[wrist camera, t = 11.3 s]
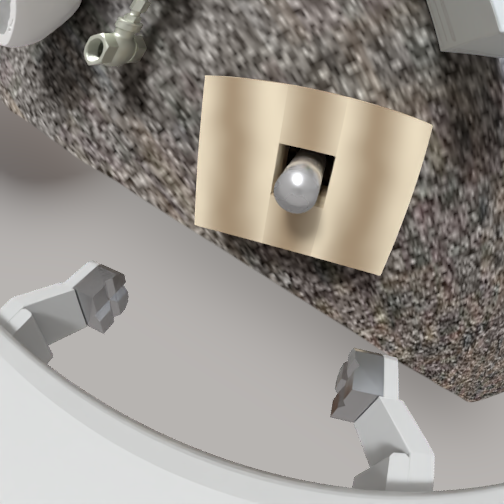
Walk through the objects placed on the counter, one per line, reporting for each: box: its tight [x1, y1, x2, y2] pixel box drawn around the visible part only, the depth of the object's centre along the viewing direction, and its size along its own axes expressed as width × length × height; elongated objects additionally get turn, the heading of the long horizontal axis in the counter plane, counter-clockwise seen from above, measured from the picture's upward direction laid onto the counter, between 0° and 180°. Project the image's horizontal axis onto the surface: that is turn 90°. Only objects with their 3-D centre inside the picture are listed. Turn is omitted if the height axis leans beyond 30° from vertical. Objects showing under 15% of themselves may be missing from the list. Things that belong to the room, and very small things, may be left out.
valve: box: [84, 0, 151, 67], centre depth 21 cm, size 7×7×12 cm
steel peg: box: [274, 148, 326, 214], centre depth 24 cm, size 3×3×10 cm
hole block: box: [195, 75, 433, 276], centre depth 25 cm, size 18×14×6 cm
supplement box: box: [426, 0, 504, 58], centre depth 10 cm, size 7×7×13 cm
